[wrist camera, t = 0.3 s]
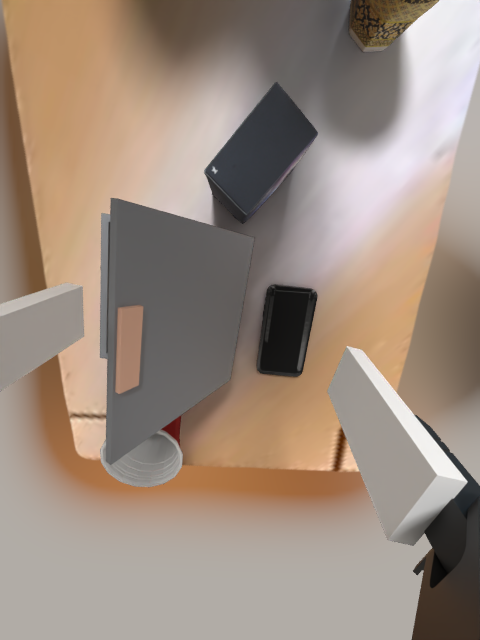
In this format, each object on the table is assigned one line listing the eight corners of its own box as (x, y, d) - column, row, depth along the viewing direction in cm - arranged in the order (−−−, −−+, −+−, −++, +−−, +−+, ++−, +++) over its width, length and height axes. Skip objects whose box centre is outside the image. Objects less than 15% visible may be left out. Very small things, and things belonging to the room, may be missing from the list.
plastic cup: (155, 439, 46) (128, 503, 35) (123, 394, 43) (82, 446, 32) (207, 417, 45) (196, 475, 33) (176, 368, 42) (154, 414, 31)
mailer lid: (110, 198, 14) (122, 199, 13) (250, 236, 29) (257, 238, 28) (105, 461, 19) (113, 468, 18) (226, 378, 34) (232, 381, 33)
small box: (244, 227, 36) (246, 219, 26) (210, 193, 35) (199, 171, 25) (297, 167, 34) (322, 133, 24) (263, 129, 33) (274, 76, 23)
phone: (318, 289, 38) (301, 377, 42) (316, 288, 39) (299, 374, 43) (267, 284, 38) (255, 373, 42) (266, 283, 39) (254, 369, 43)
